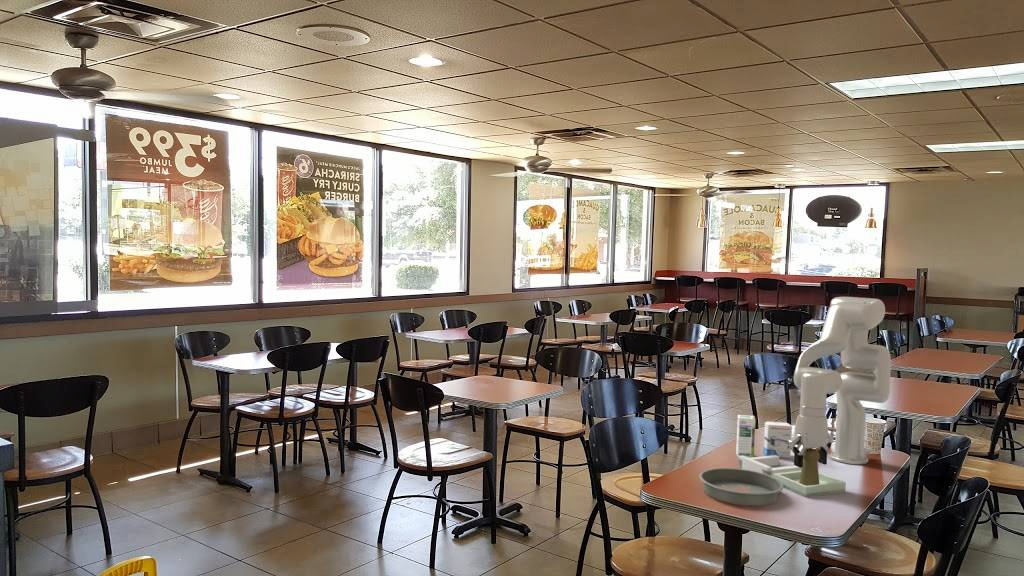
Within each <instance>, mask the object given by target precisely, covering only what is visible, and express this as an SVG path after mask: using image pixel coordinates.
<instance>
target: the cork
mask: <svg viewBox="0 0 1024 576" xmlns="http://www.w3.org/2000/svg"><path fill="white" fill-rule="evenodd" d="M802 455H803V467H802V470H801V475H800V480H799V483H801V484H803V485H805V486H809V485H817V484H819V473H818V472H819V464H818V463H819V462H818V460H819V458H820V454H819V452H818V450H816V449H815V448H810V449H805V450H804V452H803V453H802Z"/></svg>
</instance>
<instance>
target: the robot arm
mask: <svg viewBox="0 0 1024 576" xmlns="http://www.w3.org/2000/svg"><path fill="white" fill-rule="evenodd" d="M885 314H886V307H885V304H884V302H883V300H881V299H879V298H870V297H857V296H856V297H855V296H838V297H837V296H836V297H834V298H832V299H831V300H830V305H829V308H828V310H827V313H826V317H825V321H824V323H823V327H822V330H821V333H820V336H819V339H818V340H816V341H814V342H813V343H811V344H810V345H809V346H808V347H807V348H805V349H804V350H803V351H802V352H801V354H800V355H799V357H798V359H797V363H796V366H795V370H794V373H793V383H794V385H795V387H797V389H800V398H799V399H800V402H799V403H800V404H799V414H797V417H796V421H795V426H794V432H793V437H791V440H789V445H790V449H791V451H792V453H793V455H794V456H793V466H797V467H800V468H802V467H803V460H804V459H803V455H802V453H803V452H804V450H805V449H818V448H819V449H818V450H817V451H818V452H819V454H820V458H819V460H818V463H820V464H822V465H824V466H825V465H827V463H828V462H827V461H828V452H830V449H831V447H832V446H833V445H832V443H833V441H835V442H834V451H833V452H831V453H829V458H830V459H831V460H833V461H836V462H838V463H843V464H849V465H850V464H851V465H866V464H868V462H869V458H868V457H866V455H869V454H873V453H874V450H873V448H871V447H869V448H867V447H865V436H866V435H865V434H866V423H867V422H866V420H867V419H866V418H867V412H866V410H865V407H864V406H863V404H862V401H863V402H869V403H870V402H871V403H875V404H884V403H886V402H887V401H888V400H889V398H890V391H891V370H892V369H891V367H892V366H891V364H892V359H891V353H890V350H889V349H888V348H887V347H886V346H884V345H880V344H870V343H868V342H869V341H868V340H869V339H868V337H869V336H868V335H869V334H868V333H869V331H870V330H873V329H874V328H875V327H877V326H879V324H880V323H882V322H883V320H884V317H885ZM839 353H840V363H841V365H842V366H843V367H844V368H846V369H849V370H850V369H851V370H855V371H856V370H857V371H863V372H872V373H873V374H870V373H869V374H866V373H862V372H861V373H860V372H853V371H847V372H846V371H845V372H841V373H839V372H838V371H836V370H834V369H827V368H822V367H821V368H819V367H814V366H810V365H811V364H812V363H814V362H815V361H816V360H818V359H821V358H824V357H828V356H831V355H832V356H833V355H835V354H839ZM827 394H832V395H833V394H836V420H835V421H836V422H835V437H834V436H833V435H831V434H829V428H828V427H829V425H828V417H827V413H826V412H827V410H828V408H827ZM834 439H835V440H834Z"/></svg>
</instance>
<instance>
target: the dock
mask: <svg viewBox="0 0 1024 576" xmlns="http://www.w3.org/2000/svg"><path fill="white" fill-rule="evenodd" d="M737 459H738V460H737V469H745V470H751V471H756V472H760V473H764V474H767V475H770V476H772V477H773V474H775V473H783V472H792V471H801V470H802V468H800V467H797V466H795V465H787V466H779V465H780V457H779V456H776V455H771V456H766V455H763V456H754V457H751V458H748V457H746V456H738V457H737ZM775 466H777V467H775ZM778 466H779V467H778Z"/></svg>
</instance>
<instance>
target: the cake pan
mask: <svg viewBox="0 0 1024 576" xmlns="http://www.w3.org/2000/svg"><path fill="white" fill-rule="evenodd" d="M699 479H700V481H701V482H702V485H703V486H702V487H703V489H704V492H705V494H707V495H708V496H710V497H711V498H713V499H715V500H718V501H721V502H724V501H725V503H728V504H734V505H739V504H740V505H741V506H749V505H753V506H754V505H756V506H767V505H771V504H773V503H775V502H776V501H777V500H778V496H779V494H780V492H781V491H782V490H783V489H785V488H784V485H783V483H782V482H781V481H780V480H778V479H776V478H774V477H772V476H770V475H767V474H764V473H760V472H756V471H751V470H745V469H740V468H738V467H737V468H736V467H735V468H733V467H717V468H715V467H714V468H709V469H706V470H703V471H702V472H700V473H699ZM739 484H740V485H742V486H744V487H746V489H747V490H746V492H742V491H741V490H742V489H743V487H742V486H740V485H739ZM722 485H724V486H725V487H726V489H725V487H723V486H722ZM748 486H749V487H750V489H749V488H748ZM735 487H737V488H740V489H741V490H740V491H736V490H737V489H736V488H735ZM729 488H731V490H729ZM749 490H750V491H749ZM747 491H749V492H747Z"/></svg>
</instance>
